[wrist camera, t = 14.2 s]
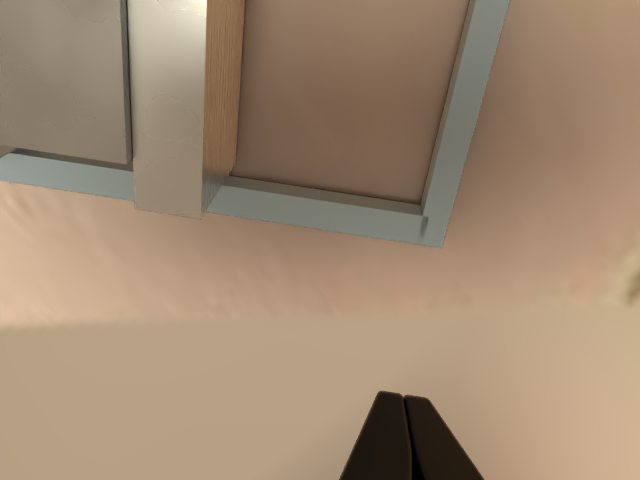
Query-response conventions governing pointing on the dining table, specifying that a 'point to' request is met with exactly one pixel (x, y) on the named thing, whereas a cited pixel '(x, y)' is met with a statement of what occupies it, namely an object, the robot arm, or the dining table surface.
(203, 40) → the block
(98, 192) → the vise
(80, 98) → the block
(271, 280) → the dining table surface
